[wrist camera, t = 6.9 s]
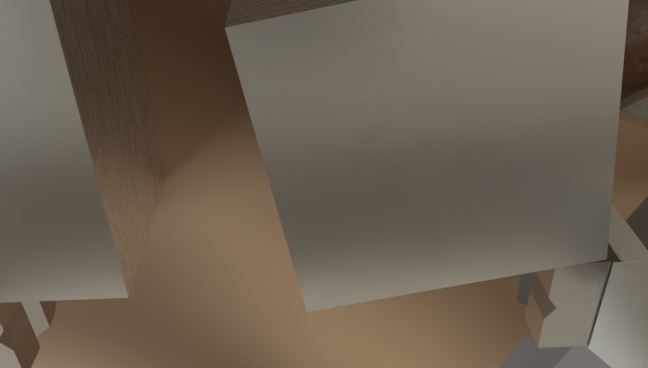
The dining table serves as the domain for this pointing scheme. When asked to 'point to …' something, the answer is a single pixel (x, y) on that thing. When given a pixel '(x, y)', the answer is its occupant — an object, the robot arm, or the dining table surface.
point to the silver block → (73, 151)
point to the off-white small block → (433, 136)
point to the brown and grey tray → (275, 247)
